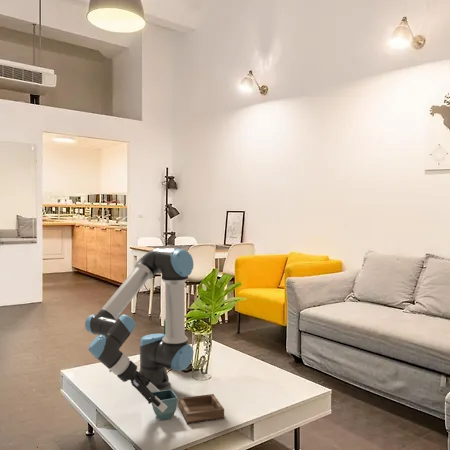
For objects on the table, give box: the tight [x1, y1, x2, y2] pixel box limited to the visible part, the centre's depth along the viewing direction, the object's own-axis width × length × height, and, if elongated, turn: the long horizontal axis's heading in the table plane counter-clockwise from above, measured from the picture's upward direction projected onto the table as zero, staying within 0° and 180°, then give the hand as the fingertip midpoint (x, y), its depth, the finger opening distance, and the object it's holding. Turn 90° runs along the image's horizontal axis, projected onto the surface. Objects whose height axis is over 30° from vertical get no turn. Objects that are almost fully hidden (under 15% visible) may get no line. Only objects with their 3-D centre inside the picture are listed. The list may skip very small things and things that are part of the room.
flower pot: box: [151, 389, 178, 421], centre depth 177 cm, size 9×9×9 cm
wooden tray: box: [178, 393, 225, 425], centre depth 180 cm, size 15×15×4 cm
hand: (161, 401), depth 176 cm, fingers open, 13 cm apart
